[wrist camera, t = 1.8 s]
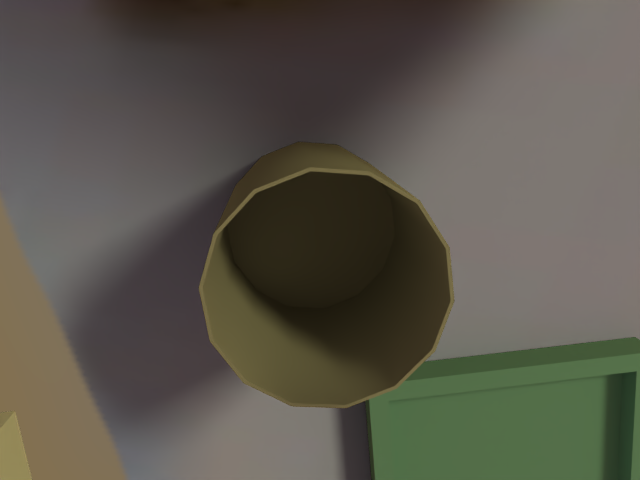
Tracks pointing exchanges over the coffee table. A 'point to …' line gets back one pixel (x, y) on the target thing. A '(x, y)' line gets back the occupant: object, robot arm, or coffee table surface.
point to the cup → (324, 279)
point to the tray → (513, 417)
